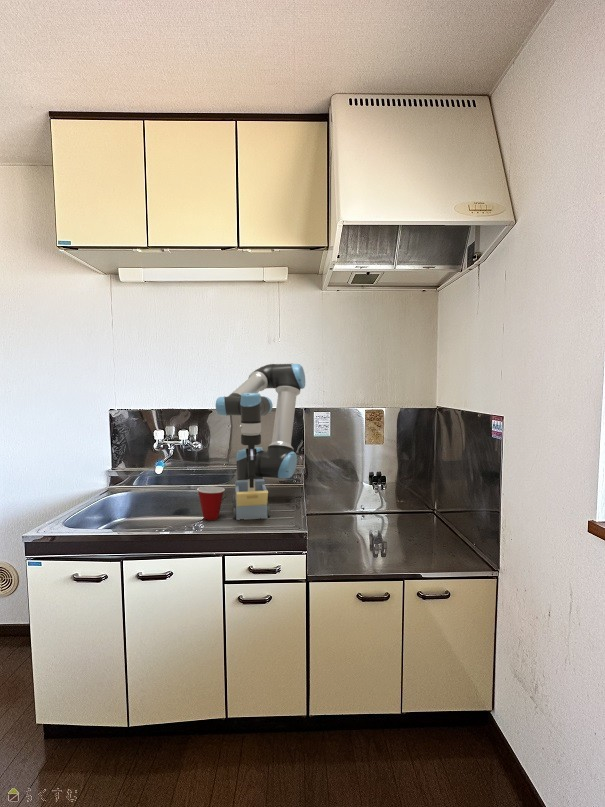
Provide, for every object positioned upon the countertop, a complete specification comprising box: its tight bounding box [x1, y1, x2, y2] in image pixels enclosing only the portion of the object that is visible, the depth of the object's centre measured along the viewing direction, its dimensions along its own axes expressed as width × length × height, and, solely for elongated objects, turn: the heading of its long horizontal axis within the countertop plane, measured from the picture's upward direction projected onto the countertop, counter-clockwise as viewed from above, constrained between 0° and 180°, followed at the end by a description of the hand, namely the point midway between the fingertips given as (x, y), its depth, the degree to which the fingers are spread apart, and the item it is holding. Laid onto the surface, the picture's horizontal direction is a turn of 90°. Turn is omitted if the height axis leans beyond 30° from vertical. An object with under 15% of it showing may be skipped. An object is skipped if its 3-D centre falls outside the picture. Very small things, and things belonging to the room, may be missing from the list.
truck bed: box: [232, 478, 271, 521], centre depth 190 cm, size 14×14×12 cm
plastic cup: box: [196, 485, 226, 521], centre depth 185 cm, size 11×11×12 cm
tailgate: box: [237, 490, 269, 506], centre depth 179 cm, size 2×12×9 cm
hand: (251, 495), depth 179 cm, fingers closed
